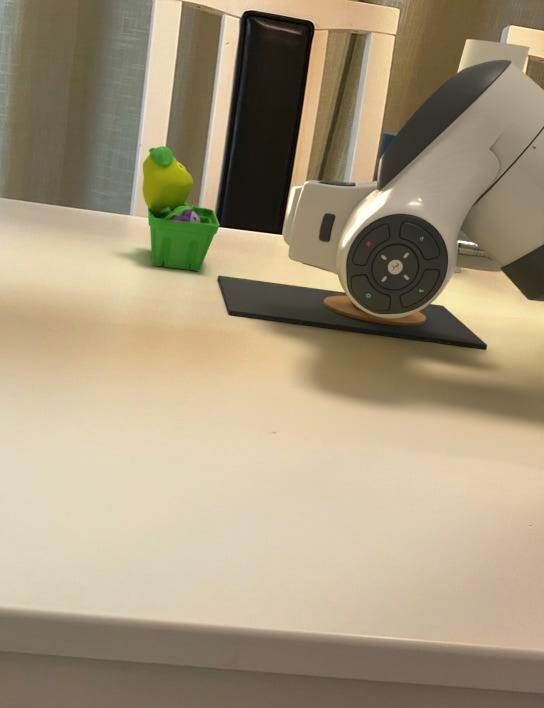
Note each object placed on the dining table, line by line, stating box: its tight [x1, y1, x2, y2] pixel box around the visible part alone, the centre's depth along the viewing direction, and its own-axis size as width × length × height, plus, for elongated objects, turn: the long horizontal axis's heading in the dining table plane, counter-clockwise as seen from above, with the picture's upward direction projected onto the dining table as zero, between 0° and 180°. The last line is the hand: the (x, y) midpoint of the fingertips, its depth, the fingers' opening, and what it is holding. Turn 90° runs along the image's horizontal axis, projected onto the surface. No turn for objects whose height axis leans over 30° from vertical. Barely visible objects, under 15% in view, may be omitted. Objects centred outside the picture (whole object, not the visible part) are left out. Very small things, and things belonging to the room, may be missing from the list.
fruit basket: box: [142, 145, 221, 272], centre depth 109 cm, size 11×9×11 cm
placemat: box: [217, 275, 488, 350], centre depth 99 cm, size 24×16×1 cm, turn 86°
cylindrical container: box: [453, 38, 531, 273], centre depth 124 cm, size 7×7×25 cm
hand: (398, 218), depth 95 cm, fingers closed on cup, 6 cm apart
